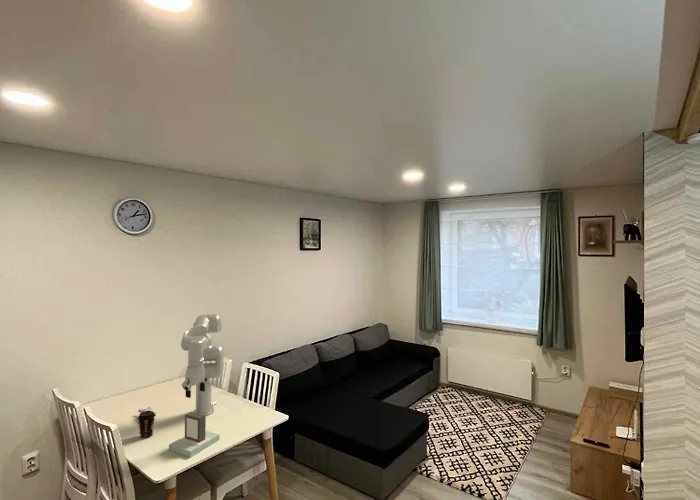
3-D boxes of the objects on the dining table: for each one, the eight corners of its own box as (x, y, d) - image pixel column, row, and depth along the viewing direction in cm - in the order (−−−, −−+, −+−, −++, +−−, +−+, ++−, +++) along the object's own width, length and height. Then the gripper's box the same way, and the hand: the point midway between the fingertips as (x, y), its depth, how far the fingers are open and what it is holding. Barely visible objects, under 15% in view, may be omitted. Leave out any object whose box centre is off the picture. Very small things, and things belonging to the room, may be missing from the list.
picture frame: (190, 434, 211) (190, 411, 211) (205, 439, 206) (205, 415, 206) (184, 438, 207) (184, 414, 207) (199, 442, 203) (199, 418, 203)
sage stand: (198, 433, 219) (198, 427, 219) (219, 439, 213) (219, 433, 213) (168, 450, 201) (168, 443, 201) (190, 457, 194) (190, 451, 194)
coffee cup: (151, 430, 222) (151, 408, 222) (157, 435, 217) (158, 412, 217) (135, 436, 215) (135, 413, 215) (141, 441, 210) (141, 417, 210)
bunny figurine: (140, 418, 229) (136, 406, 241) (140, 426, 230) (136, 414, 242) (157, 414, 235) (153, 403, 247) (157, 421, 236) (152, 410, 248)
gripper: (202, 357, 216) (202, 387, 216) (177, 366, 200) (177, 398, 201) (212, 359, 213) (212, 390, 213) (187, 368, 197) (187, 401, 197)
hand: (195, 394), depth 207 cm, fingers open, 9 cm apart
